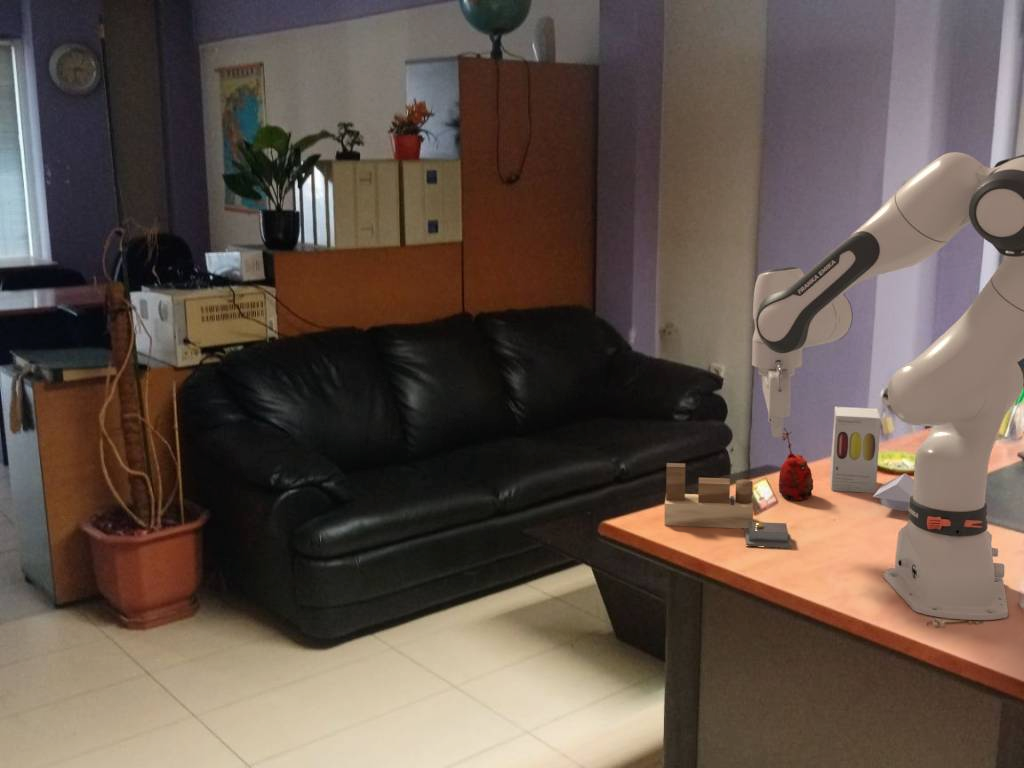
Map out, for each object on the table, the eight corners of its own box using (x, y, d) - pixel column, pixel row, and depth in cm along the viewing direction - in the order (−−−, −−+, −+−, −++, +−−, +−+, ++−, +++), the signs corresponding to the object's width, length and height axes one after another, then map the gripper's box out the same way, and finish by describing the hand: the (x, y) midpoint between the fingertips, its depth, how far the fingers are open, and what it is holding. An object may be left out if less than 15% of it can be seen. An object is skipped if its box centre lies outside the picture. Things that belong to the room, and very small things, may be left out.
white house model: (918, 519, 202) (930, 501, 213) (920, 487, 201) (932, 470, 212) (871, 512, 207) (885, 494, 218) (873, 480, 206) (887, 464, 216)
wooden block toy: (752, 528, 199) (754, 472, 197) (664, 525, 202) (664, 469, 200) (751, 517, 205) (752, 462, 203) (665, 514, 209) (666, 460, 206)
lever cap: (787, 542, 190) (787, 529, 189) (748, 540, 191) (749, 527, 191) (785, 533, 195) (786, 520, 194) (748, 531, 196) (748, 518, 196)
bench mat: (790, 548, 189) (790, 545, 188) (746, 546, 190) (746, 543, 190) (787, 533, 196) (787, 530, 196) (745, 531, 198) (745, 528, 198)
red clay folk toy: (806, 504, 213) (808, 434, 210) (772, 499, 216) (775, 430, 213) (816, 494, 219) (819, 426, 216) (783, 489, 223) (786, 422, 220)
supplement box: (830, 491, 221) (833, 415, 217) (829, 478, 230) (832, 405, 226) (877, 493, 218) (881, 417, 215) (874, 481, 227) (878, 407, 224)
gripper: (799, 366, 176) (797, 444, 178) (790, 347, 195) (788, 417, 198) (762, 366, 177) (760, 444, 180) (756, 346, 197) (755, 416, 199)
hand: (775, 429), depth 189 cm, fingers open, 8 cm apart
